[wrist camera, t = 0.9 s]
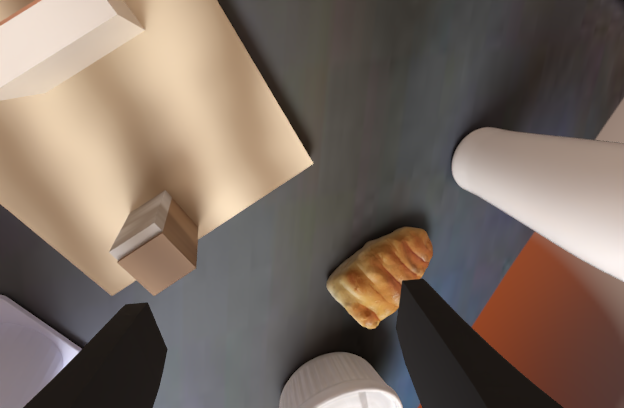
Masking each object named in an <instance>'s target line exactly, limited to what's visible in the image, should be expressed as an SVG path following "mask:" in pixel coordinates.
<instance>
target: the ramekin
mask: <svg viewBox="0 0 624 408" xmlns="http://www.w3.org/2000/svg"><path fill="white" fill-rule="evenodd" d="M279 408H403V406H402V403H401V401H400V399H399V397H398V395H397V394H396V392H395V391H394V390H393V389H392V388H391V387H390V386H388V385H387V384H386V383H385V382H384V381H383V379H382V378H381V377H380V376H379V374H378V373H377V372H376V371H375V370H374V368H373V367H372V366H371V365H370V364H369V363H368V362H367V361H366V360H365V359H363V358H361V357H360V356H357V355H355V354H351V353H347V352H332V353H327V354H324V355H321V356H318V357H316V358H314V359H312V360H310V361H308V362H306V363H305V364H303V365H302V366H301V367H300V368H298V369H297V370H296V371H295V372H294V373H293V375H292V376H291V377H290V379H289V380H288V382H287V383H286V385H285V387H284V389H283V391H282V394H281V397H280V403H279Z"/></svg>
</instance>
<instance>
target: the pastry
mask: <svg viewBox="0 0 624 408" xmlns="http://www.w3.org/2000/svg"><path fill="white" fill-rule="evenodd" d="M432 256H433V249H432V244H431V241H430V239H429V237H428V235H427V233H426V231H424V230H423V229H421V228H414V227H402V228H399V229H396V230H395V231H393V232H392V233H390V234H388V235H385V236H382V237H380V238H378V239H375V240H371V241H369V242H367V243H365V245H364V247H363V248H361V249H360V250H358V251H357V252H356V253H355V254H353V255H352V256H351V257H350V258H348V259H346V260H345V261H344V262H343V263H342V264H341V265H340V266H339V267H338V268H337V269H336V270H335V271H334V272H333V273H332V274H331V275H330V277H329V279H328V281H327V289H328V291H329V292H330V293H331V295H332V296H333V297H334V298H335V299H336V300H337V301H338V302H339V303H340V304H341V305H342V306H343V307H344V308H345V309H346V310H347V311H348V313H349V314H350V315H352V316H353V318H354V319H355V320H356V321H357V322H358V323H359V324H360V325H361V326H363V327H366V328H369V329H374V328H376V326H378V325H379V322H380V321H381V320H383V319H384V318H386V317H387V316H389V315H390V314H392V313H394V312H395V311H396V310H397V309H398V308H399V301H400V293H401V285H402V280H414V279H420V278H421V277H422V276H423V274H424V272H425V270H426V268H427V267H428V265H429V262H430V259H431V258H432Z"/></svg>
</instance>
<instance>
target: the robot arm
mask: <svg viewBox="0 0 624 408" xmlns="http://www.w3.org/2000/svg"><path fill="white" fill-rule="evenodd" d="M396 330H397V334H398V338H399V342H400V346H401V349H402V353H403V357H404V360H405V364H406V366H407V369H408V372H409V374H410V377H411V380H412V382H413V385H414V387H415V390H416V393H417V395H418V398H419V400H420V403H421V405H422V408H563V407H562V406H561V405H560V404H558V403H557V402H556V401H554V400H553V399H552V398H551V397H549V396H548V395H547V394H546V393H544V392H543V391H542V390H541V389H539V388H538V387H537V386H536V385H535V384H533V383H532V382H531V381H530V380H529V379H527V378H526V377H525V376H524V375H523V374H522V373H520V372H519V371H518V370H517V369H516V368H515V367H513V366H512V365H511V364H510V363H509V362H508V361H507V360H506V359H504V358H503V357H502V356H501V355H500V354H499V353H498V352H497V351H496V350H495V349H493V348H492V347H491V346H490V345H489V344H488V343H487V342H486V341H485V340H484V339H483V338H482V337H481V336H480V335H479V334H478V333H477V332H475V331H474V330H473V329H472V328H471V327H470V326H469V325H468V324H467V323H466V322H465V321H464V320H463V319H462V318H461V317H460V316H459V315H458V314H457V313H456V312H455V311H454V310H453V309H452V308H451V307H450V306H449V305H448V304H447V303H446V302H445V301H444V300H443V299H442V297H441V296H440V295H439V294H438V293H437V292H436V291H435V290H434V289H433V288H432V287H431V286H430V285H429V284H428V283H427V282H426V281H425V280H424V279H414V280H402V285H401V293H400V301H399V309H398V317H397V325H396ZM166 353H167V347H166V345H165V343H164V340H163V338H162V336H161V333H160V331H159V328H158V326H157V324H156V321H155V319H154V316H153V314H152V312H151V309H150V307H149V305H148V303H137V304H126V305H125V306H124V307H123V308H122V309H120V310H119V311H118V312H117V314H116V315H115V316H114V317H113V318H112V319H111V320H110V321H109V322H108V323H107V324H106V325H105V326H104V327H103V328H102V329H101V330H100V331H99V332H98V333H97V334H96V335H95V336H94V337H93V338H92V339H91V341H90V342H89V343H88V344H87V345H86V346H85V347H84V348H83V349H82V348H80V347H79V346H77V345H76V344H74V343H73V342H71V341H70V340H69V339H67V338H66V337H64V336H63V335H61V334H60V333H58V332H57V331H56V330H54V329H53V328H51V327H50V326H48V325H47V324H45V323H44V322H43V321H41V320H40V319H38V318H37V317H35V316H34V315H32V314H31V313H30V312H28V311H27V310H25V309H24V308H22V307H21V306H19V305H18V304H17V303H15V302H14V301H12V300H11V299H9V298H8V297H6V296H4V295H0V408H153V405H154V402H155V399H156V396H157V393H158V389H159V386H160V382H161V377H162V373H163V368H164V363H165V358H166Z"/></svg>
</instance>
